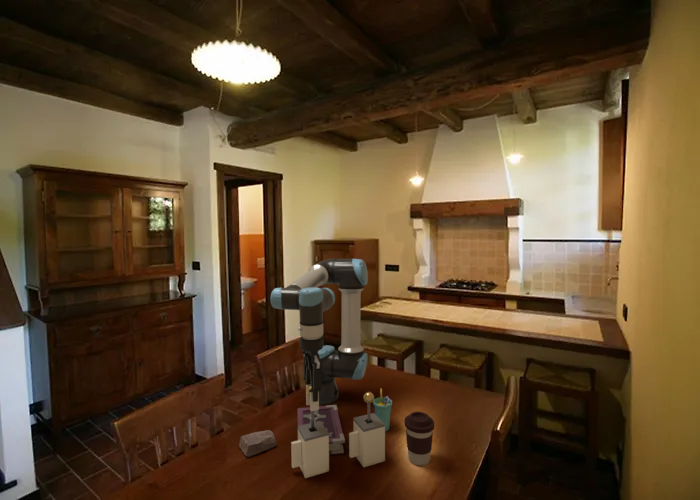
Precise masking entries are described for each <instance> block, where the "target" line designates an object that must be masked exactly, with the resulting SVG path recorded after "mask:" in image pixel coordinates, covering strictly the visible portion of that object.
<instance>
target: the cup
mask: <svg viewBox="0 0 700 500" xmlns="http://www.w3.org/2000/svg"><path fill="white" fill-rule="evenodd" d="M379 389H380V390H379V391H380V392H379V393H380V396H379V397H377V398H374V400H373V402H372V403H373V404H372V405H373V406H374V414H375V415H376V416H377V417H378V418H379V419H380V420H381V421H382V422H383V423H384V424H385V432H387V431H389V430H390V424H391V423H390V421H391V412H392V411H391V410H392V406H393V400H392V399H390V398H389V397H390V396H388V395H387V396H383V389H382V388H379Z"/></svg>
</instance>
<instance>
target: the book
mask: <svg viewBox="0 0 700 500" xmlns="http://www.w3.org/2000/svg"><path fill="white" fill-rule="evenodd" d="M317 421H321V422H322V424H323V425H324V427H325V428H326V430H327V431H328V433H329V455H337V454H344V453H345V451H344V445H343V444H345V443H346V439H345V434H344V433H343V429H342V425H341V421H340V416H339V411H338V406H337V404H332V405H331V404H329V405H328V404H327V405H324V406H323V405H322V406H320V405H319V410H315V411H314V422H317ZM309 423H311V411H310V406H309V407H298V408H297V427H298V426H300V425H305V424H309Z"/></svg>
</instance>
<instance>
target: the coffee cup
mask: <svg viewBox="0 0 700 500" xmlns="http://www.w3.org/2000/svg"><path fill="white" fill-rule="evenodd" d="M403 423H404V427H405V438H406V439H405V440H406V448H407V457H408V458H407V459H408V461H409V462H410V463H412V465H416V466H426V465H428V464H429V463H430V461H431V455H432V454H431V452H432V445H433V430H434V429H435V421H434V419H433V418H432V417H431V416H429V415H428V414H427V413H426V412H423V411H413V412H411V413H410V414H408V415H407V416H405V417H404V422H403Z"/></svg>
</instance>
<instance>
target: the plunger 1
mask: <svg viewBox="0 0 700 500" xmlns="http://www.w3.org/2000/svg"><path fill="white" fill-rule="evenodd" d="M309 390H311V385H310V386H308V388H307V394H308V395H309V396H310V393H309ZM311 432H314V411H311Z"/></svg>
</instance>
